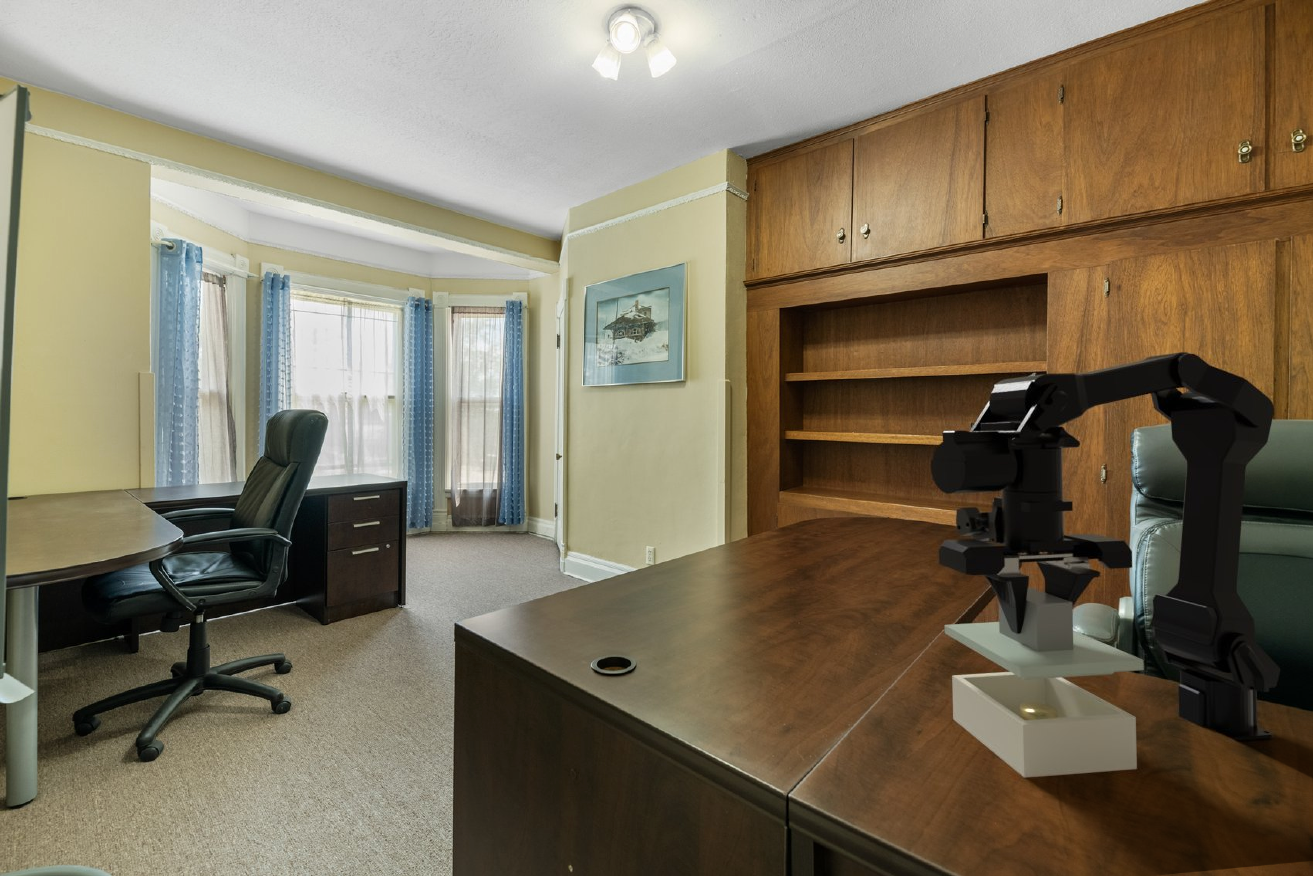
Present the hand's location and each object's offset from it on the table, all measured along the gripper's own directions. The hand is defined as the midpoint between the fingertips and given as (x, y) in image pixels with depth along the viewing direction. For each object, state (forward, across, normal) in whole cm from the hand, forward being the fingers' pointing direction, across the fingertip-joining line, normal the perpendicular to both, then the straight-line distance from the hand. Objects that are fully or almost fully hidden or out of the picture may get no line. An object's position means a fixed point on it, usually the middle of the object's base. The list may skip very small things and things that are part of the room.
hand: (1034, 631), depth 64 cm
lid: (+2, 0, 0) cm, 2 cm away
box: (+13, 0, 0) cm, 13 cm away
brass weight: (+12, -1, -1) cm, 12 cm away
